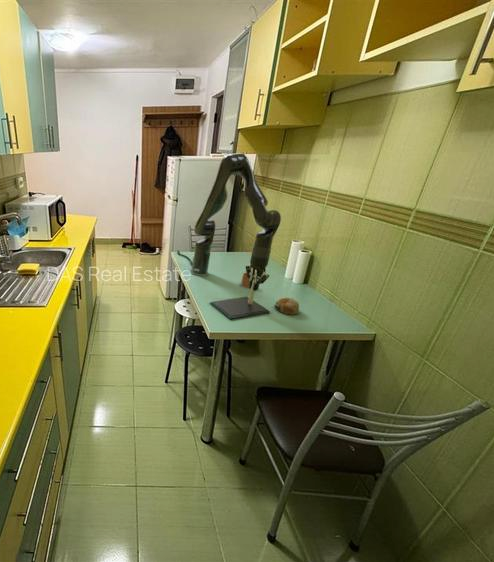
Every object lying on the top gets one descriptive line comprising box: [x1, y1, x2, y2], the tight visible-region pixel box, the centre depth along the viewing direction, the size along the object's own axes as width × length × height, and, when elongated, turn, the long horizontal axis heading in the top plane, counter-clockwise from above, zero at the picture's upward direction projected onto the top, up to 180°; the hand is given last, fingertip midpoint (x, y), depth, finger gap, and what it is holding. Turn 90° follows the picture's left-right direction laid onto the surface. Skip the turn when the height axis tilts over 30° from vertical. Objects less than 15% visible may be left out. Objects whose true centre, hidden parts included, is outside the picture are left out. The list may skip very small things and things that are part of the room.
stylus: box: [248, 279, 256, 305], centre depth 146 cm, size 2×2×13 cm
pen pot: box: [240, 272, 250, 288], centre depth 170 cm, size 5×5×7 cm
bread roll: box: [274, 297, 300, 316], centre depth 145 cm, size 10×10×8 cm
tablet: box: [209, 296, 271, 320], centre depth 147 cm, size 16×22×1 cm
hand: (253, 289), depth 145 cm, fingers closed on stylus, 2 cm apart
